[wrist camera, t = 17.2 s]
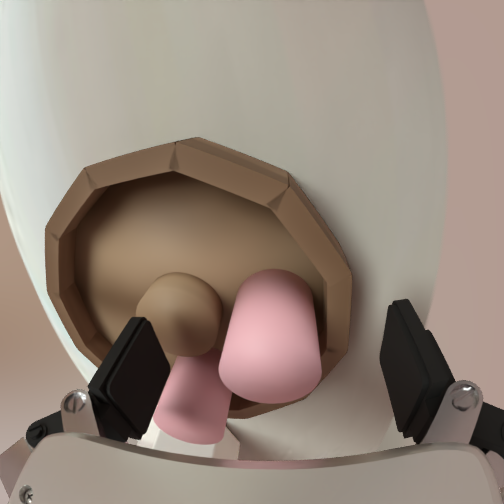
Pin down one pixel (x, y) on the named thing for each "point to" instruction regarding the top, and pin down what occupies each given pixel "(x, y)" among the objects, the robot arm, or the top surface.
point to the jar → (190, 444)
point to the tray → (188, 251)
